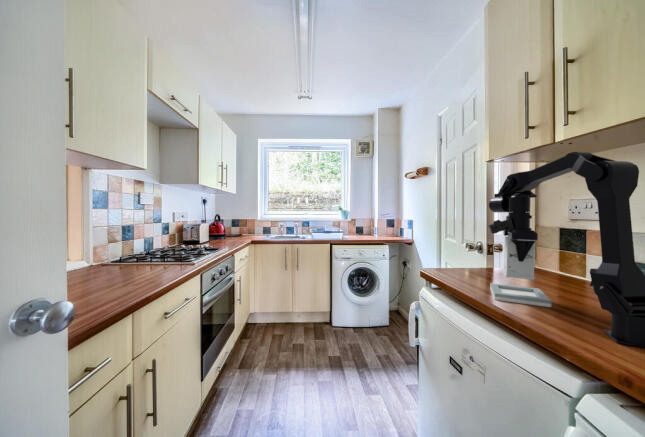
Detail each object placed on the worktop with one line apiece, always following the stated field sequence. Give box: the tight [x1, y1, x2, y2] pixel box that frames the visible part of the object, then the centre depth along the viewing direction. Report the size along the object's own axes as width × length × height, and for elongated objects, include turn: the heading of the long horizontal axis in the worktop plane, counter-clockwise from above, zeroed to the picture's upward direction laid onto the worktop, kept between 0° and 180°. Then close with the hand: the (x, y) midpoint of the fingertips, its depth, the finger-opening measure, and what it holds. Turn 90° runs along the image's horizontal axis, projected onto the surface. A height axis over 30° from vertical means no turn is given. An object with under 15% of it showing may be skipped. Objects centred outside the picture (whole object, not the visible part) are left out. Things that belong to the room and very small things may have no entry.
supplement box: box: [502, 237, 536, 281], centre depth 86 cm, size 7×7×13 cm
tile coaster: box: [489, 282, 552, 308], centre depth 86 cm, size 14×14×2 cm
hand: (518, 259), depth 86 cm, fingers closed on supplement box, 7 cm apart
